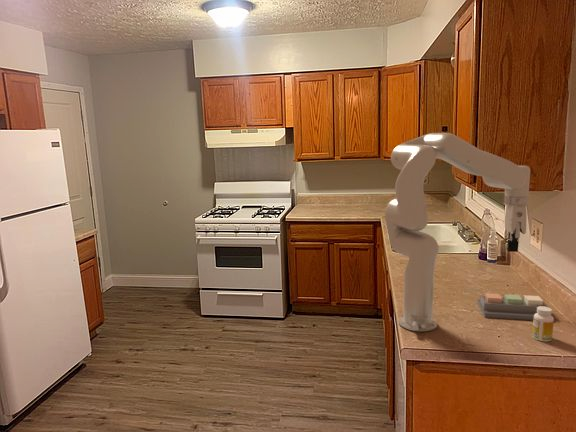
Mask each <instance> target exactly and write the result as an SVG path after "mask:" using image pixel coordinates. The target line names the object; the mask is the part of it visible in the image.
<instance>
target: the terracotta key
mask: <svg viewBox="0 0 576 432" xmlns="http://www.w3.org/2000/svg"><path fill="white" fill-rule="evenodd" d="M484 296H485V300H486V302H487V303H502V298H501V297H502V296H501V295H500V293H490V292H489V293H487V292H486V293H484Z"/></svg>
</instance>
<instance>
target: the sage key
mask: <svg viewBox="0 0 576 432" xmlns="http://www.w3.org/2000/svg"><path fill="white" fill-rule="evenodd" d="M504 297H505V298H504V300H505V302H506V303H507V304H522V299H521V298H522V297H521V296H520V295H519V294H509V293H508V294H506V293H504Z"/></svg>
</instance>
